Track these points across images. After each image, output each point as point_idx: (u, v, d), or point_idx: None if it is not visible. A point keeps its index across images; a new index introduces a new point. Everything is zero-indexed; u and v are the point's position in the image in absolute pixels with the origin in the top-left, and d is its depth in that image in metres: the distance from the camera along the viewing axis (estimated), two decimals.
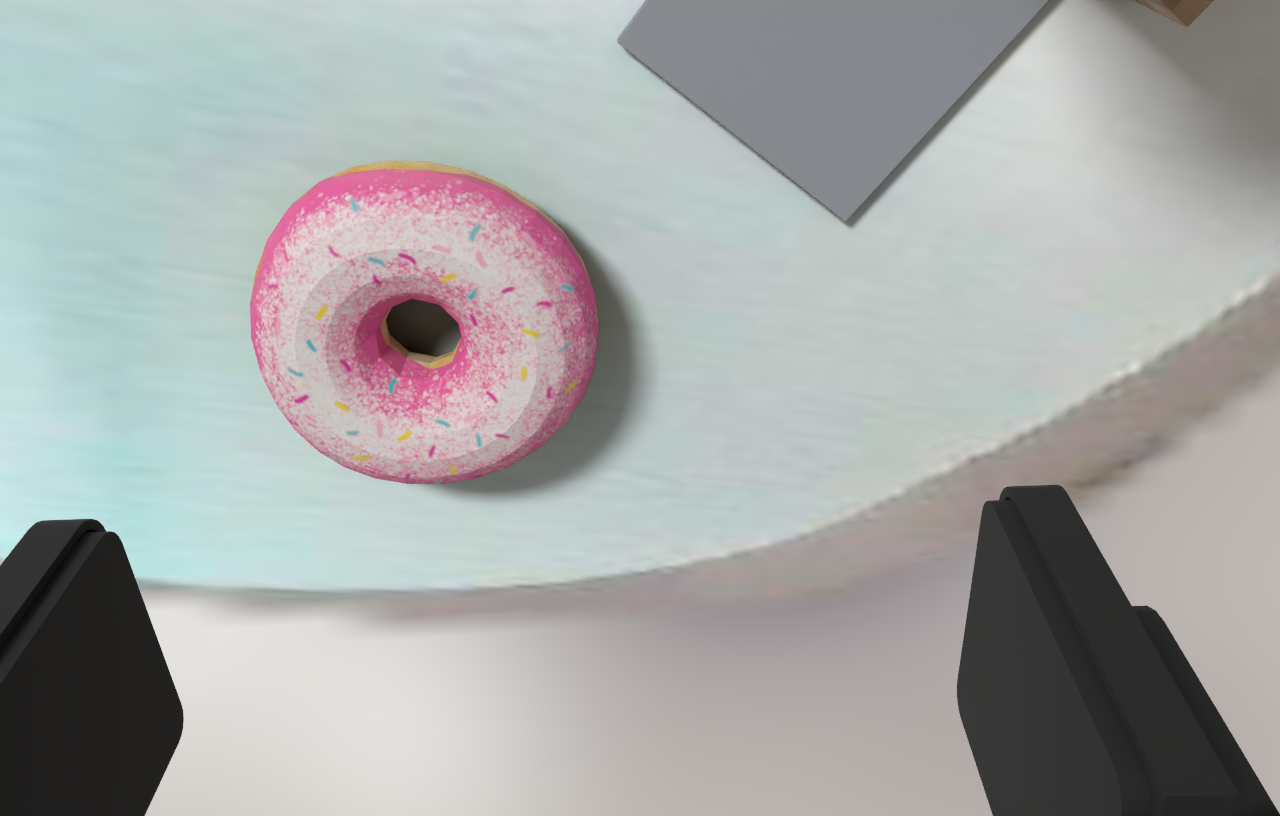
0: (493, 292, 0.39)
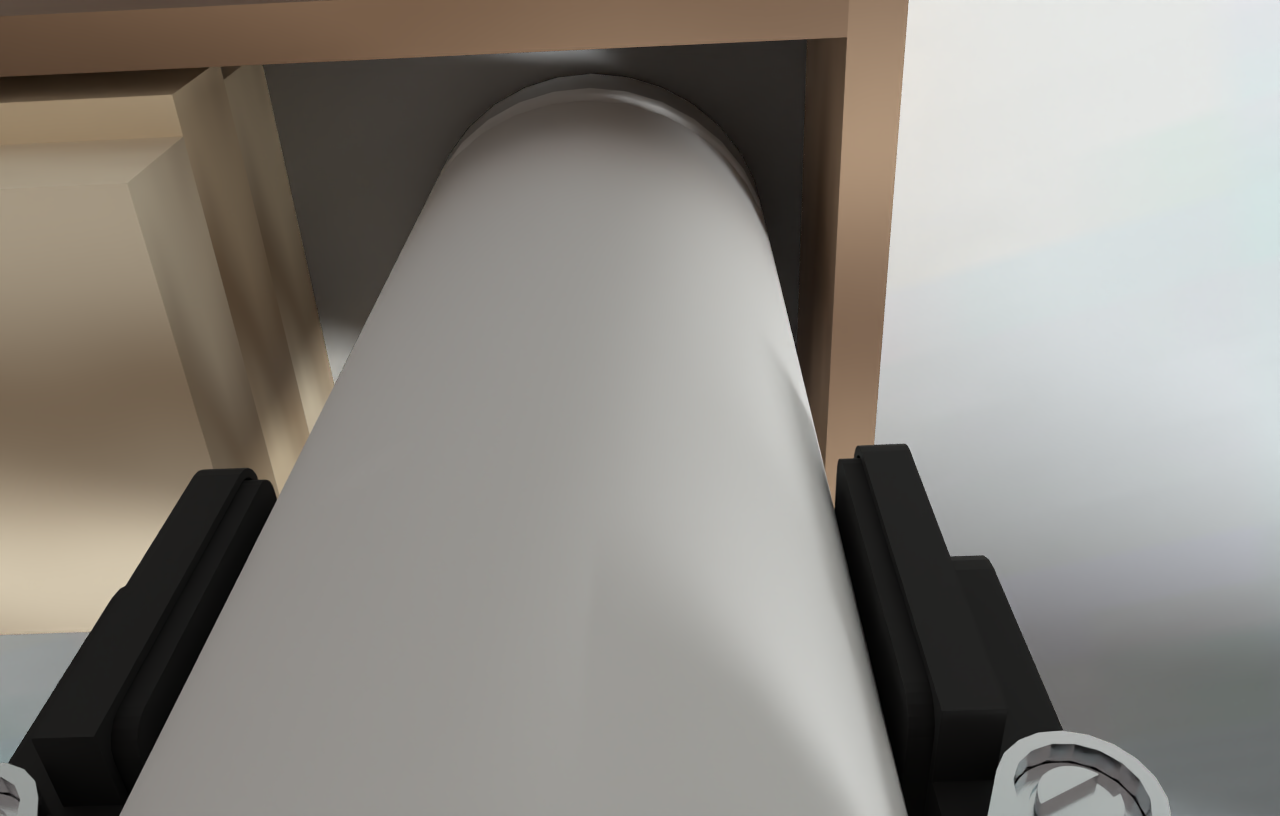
0: None
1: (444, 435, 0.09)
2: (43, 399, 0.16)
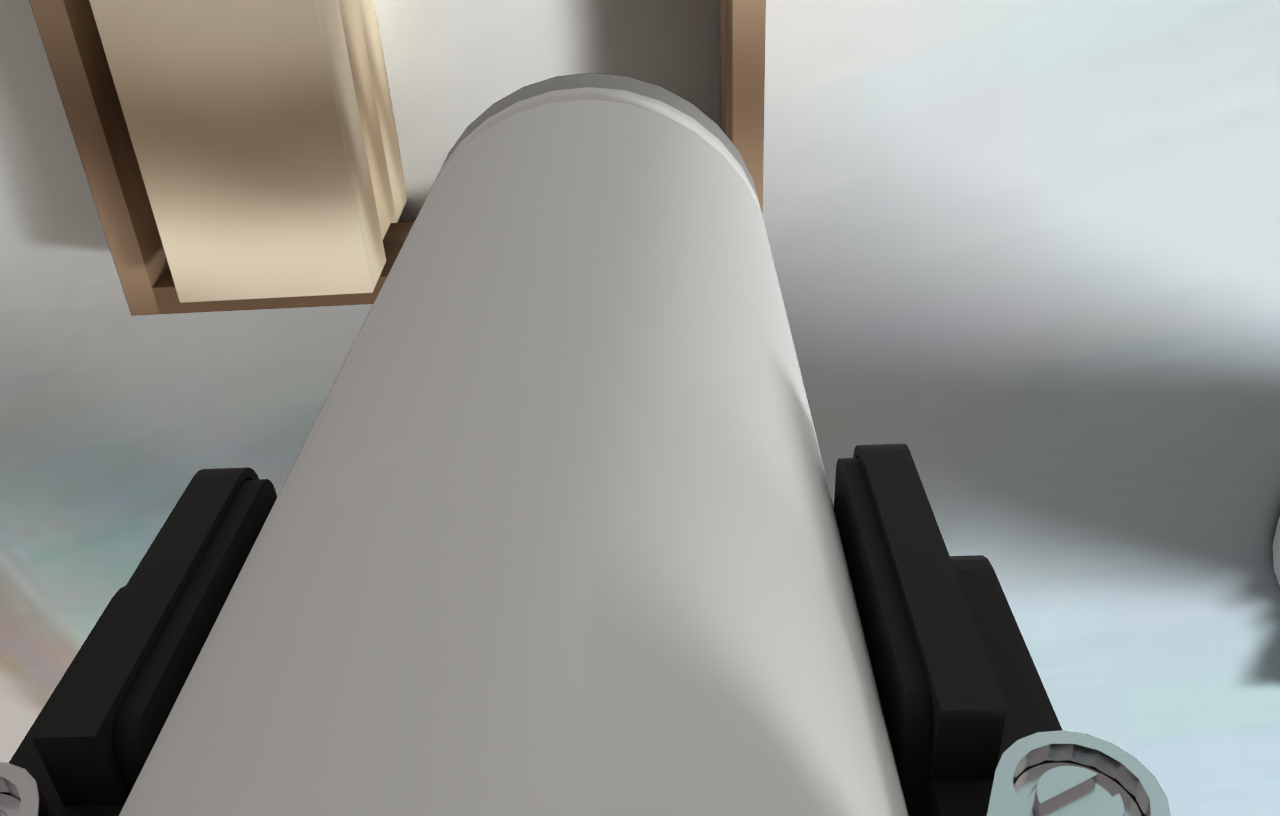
0: None
1: (444, 433, 0.09)
2: (248, 127, 0.26)
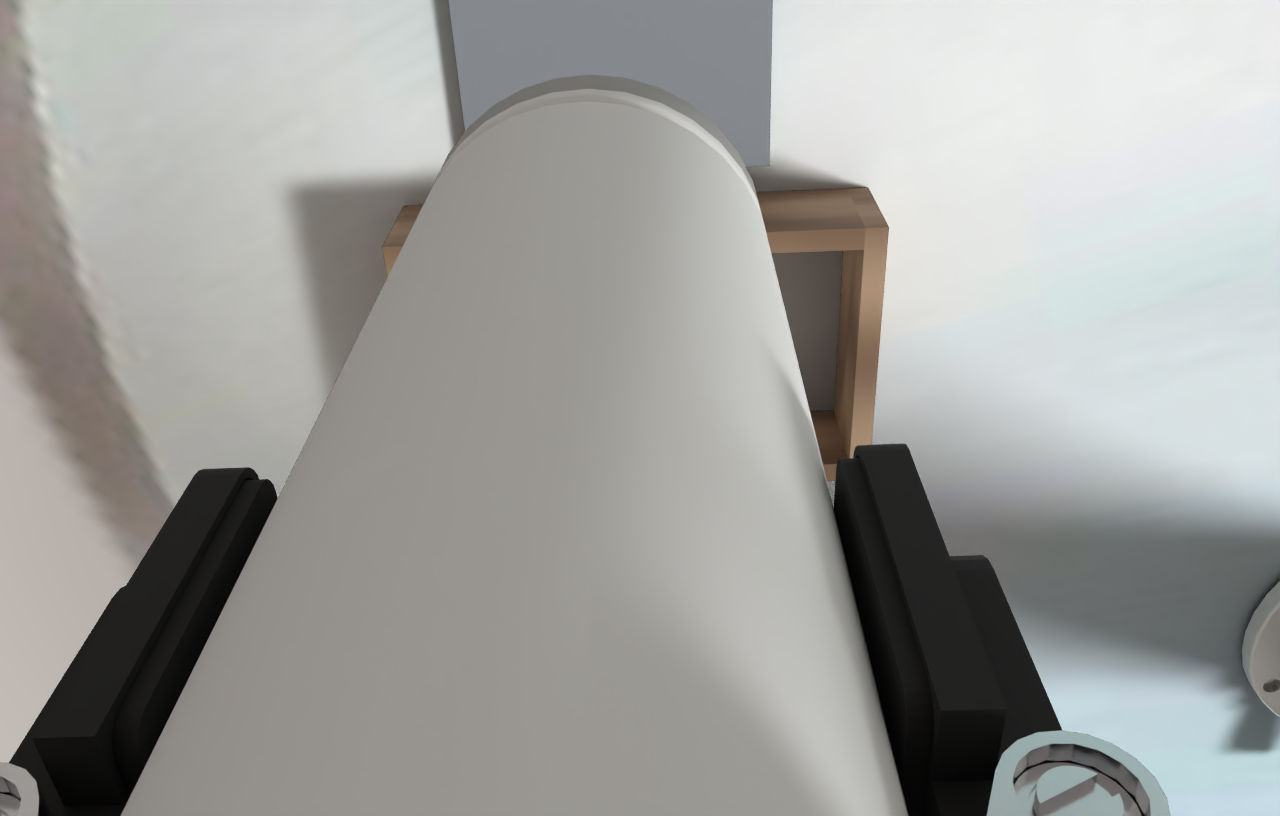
0: None
1: (443, 438, 0.09)
2: None
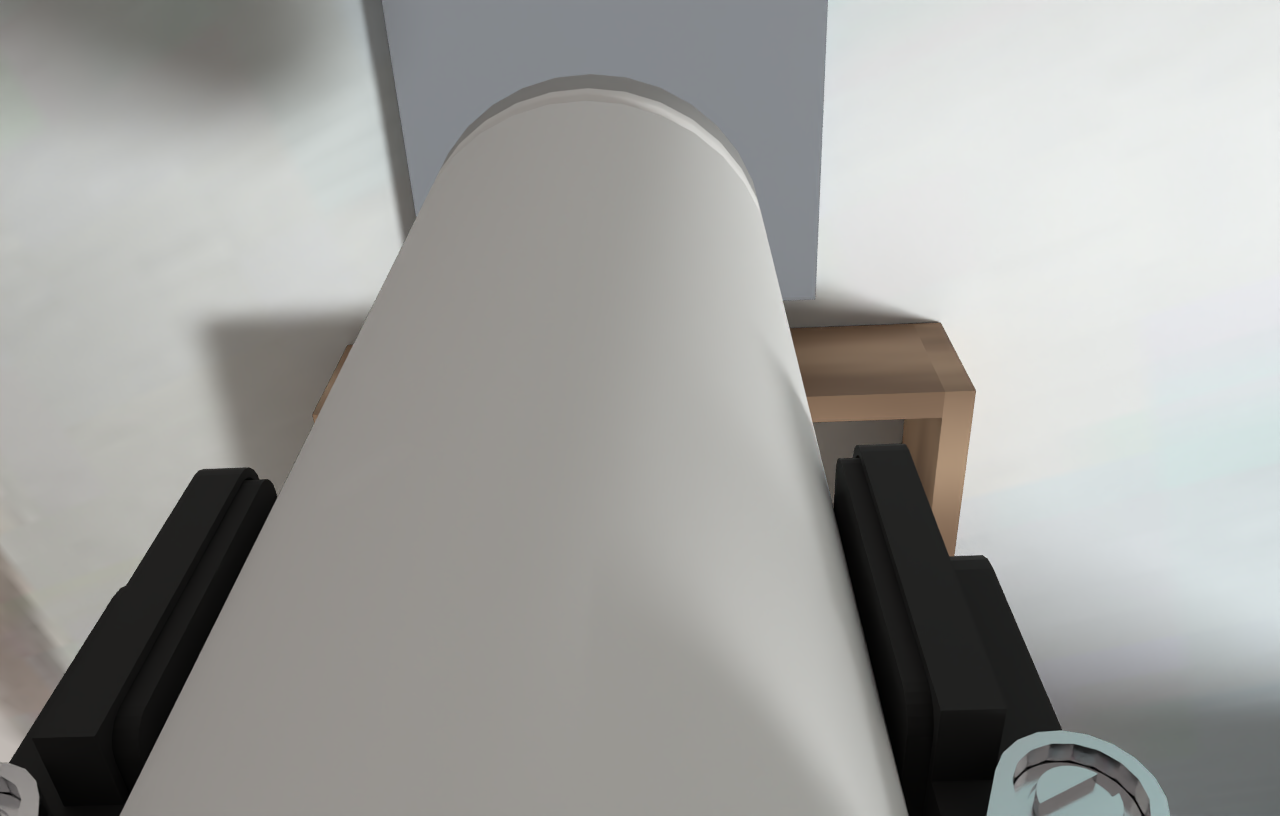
0: None
1: (442, 438, 0.09)
2: None
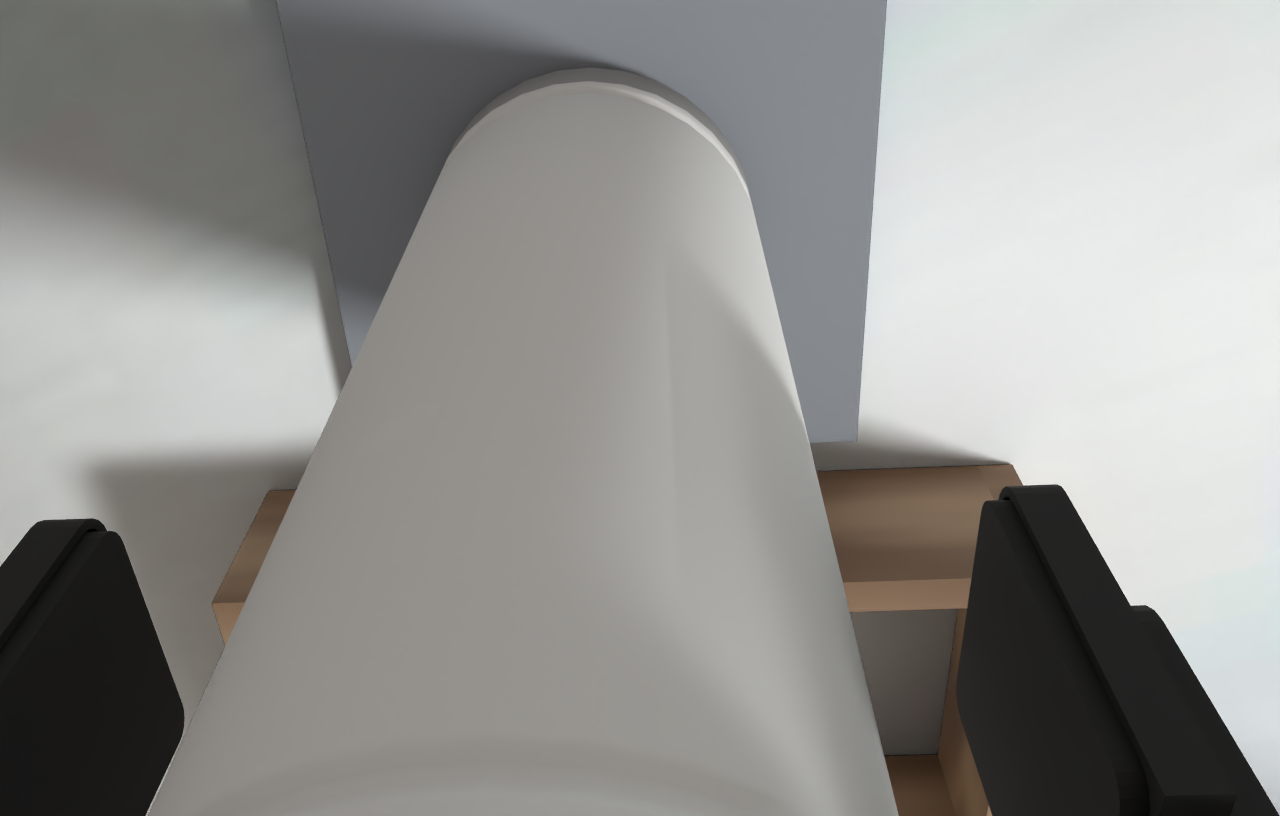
0: None
1: (468, 396, 0.10)
2: None
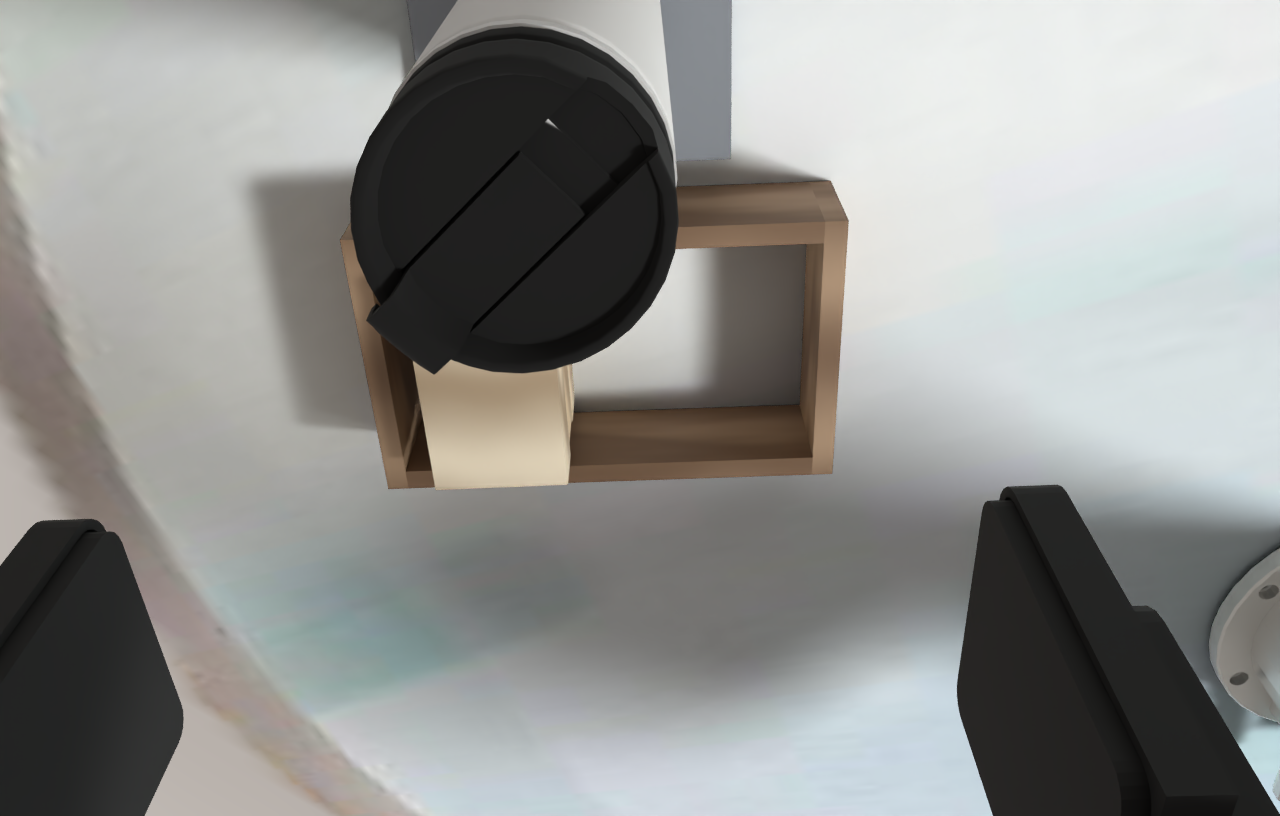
0: None
1: None
2: (497, 384, 0.39)
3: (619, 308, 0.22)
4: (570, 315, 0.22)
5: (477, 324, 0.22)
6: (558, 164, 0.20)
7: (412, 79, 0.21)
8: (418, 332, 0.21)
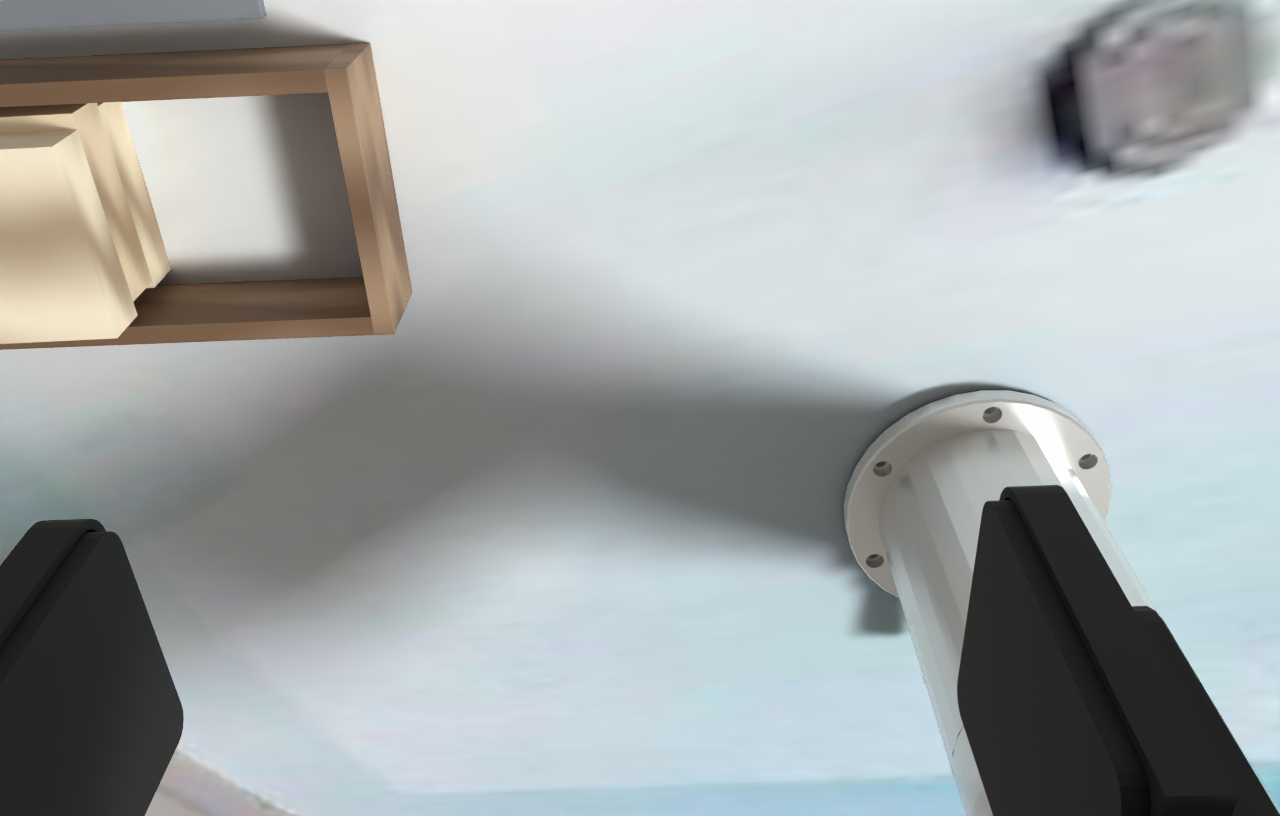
0: None
1: None
2: (22, 233, 0.40)
3: None
4: None
5: None
6: None
7: None
8: None
